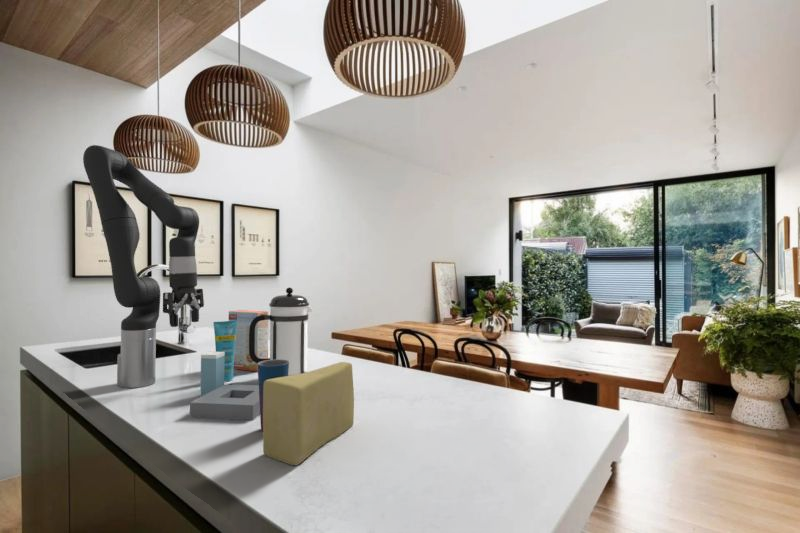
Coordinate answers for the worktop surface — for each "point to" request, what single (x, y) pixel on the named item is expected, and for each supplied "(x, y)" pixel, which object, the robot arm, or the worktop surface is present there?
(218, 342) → the tube
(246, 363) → the cracker box
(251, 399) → the socket
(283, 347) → the coffee press
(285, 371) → the cup
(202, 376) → the white-topped blue pillar
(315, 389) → the cheese
